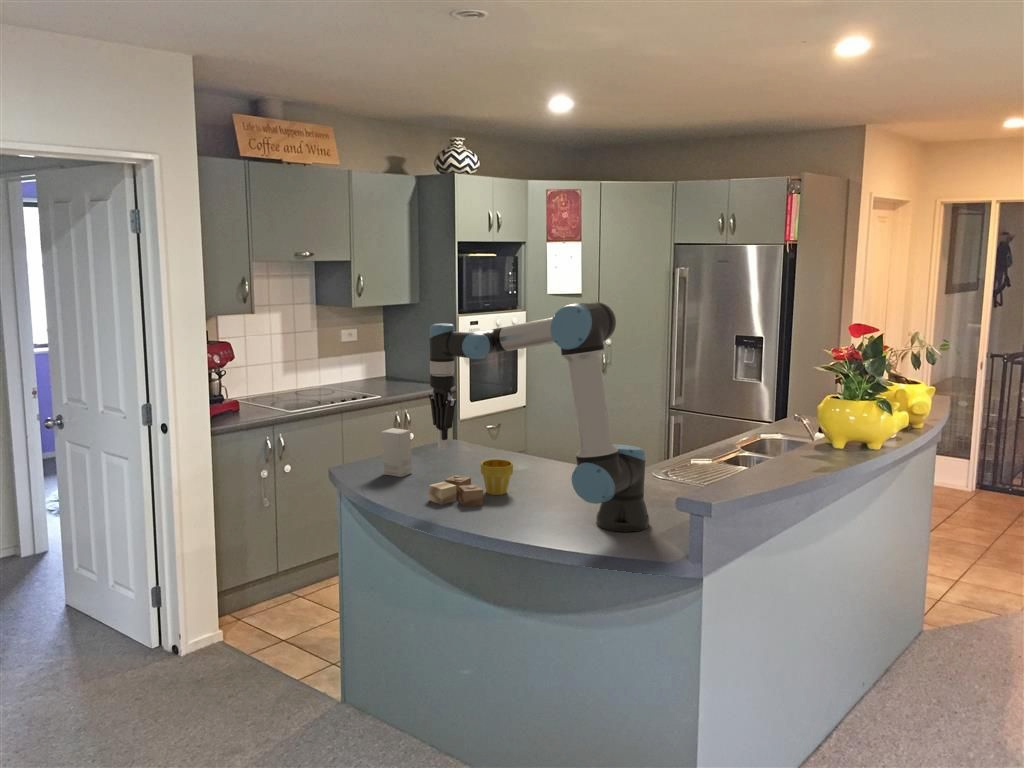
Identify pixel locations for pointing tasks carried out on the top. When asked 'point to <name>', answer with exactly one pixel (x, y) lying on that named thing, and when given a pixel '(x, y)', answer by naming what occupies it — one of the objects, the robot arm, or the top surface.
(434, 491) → the plain block
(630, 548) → the top surface
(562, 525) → the top surface
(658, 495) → the top surface
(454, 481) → the marked block
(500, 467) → the plant pot
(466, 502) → the marked block
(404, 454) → the skincare box
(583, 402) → the robot arm
